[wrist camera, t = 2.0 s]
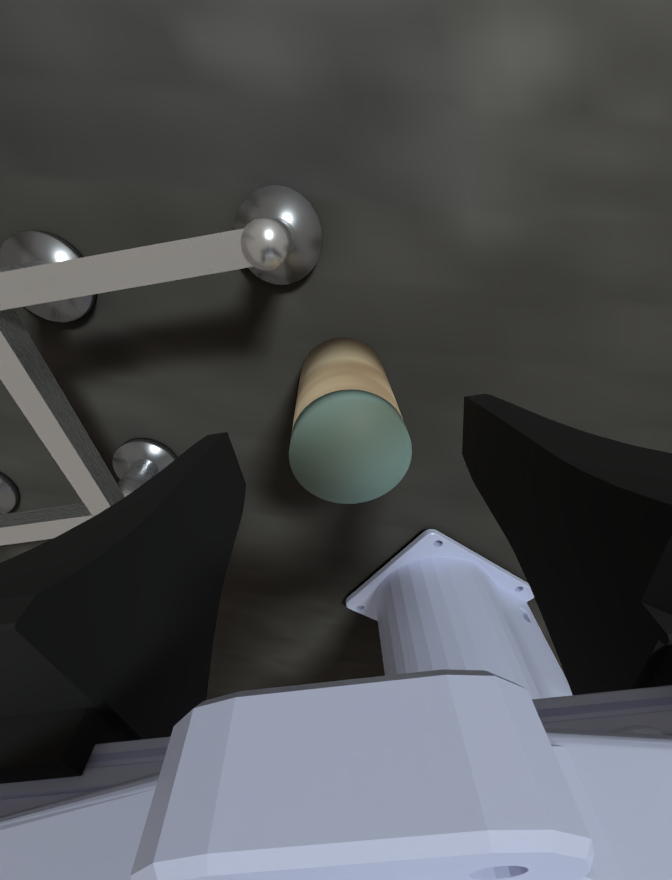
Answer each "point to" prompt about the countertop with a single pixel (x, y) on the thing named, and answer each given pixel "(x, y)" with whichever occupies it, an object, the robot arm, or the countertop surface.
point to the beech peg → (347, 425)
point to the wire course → (74, 294)
